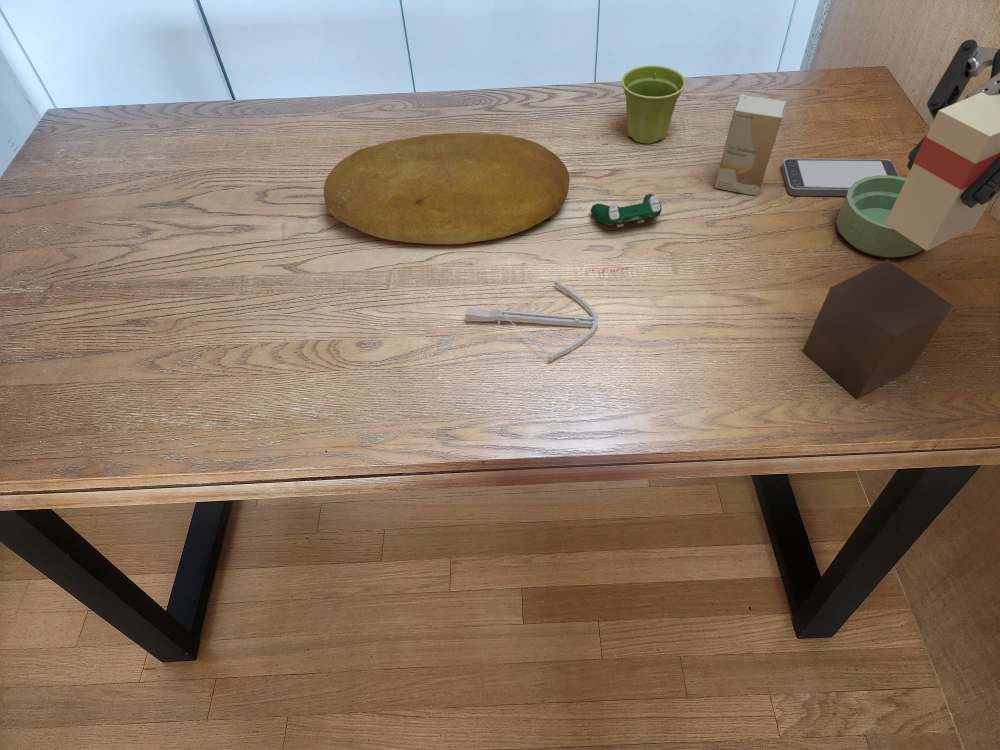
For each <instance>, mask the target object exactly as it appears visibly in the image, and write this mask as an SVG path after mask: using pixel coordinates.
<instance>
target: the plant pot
mask: <svg viewBox="0 0 1000 750" xmlns="http://www.w3.org/2000/svg"><path fill="white" fill-rule="evenodd" d="M686 84H687V81H686V78H685V77H684V75H683V74H682V73H681V72H679V71H678V70H676V69H674V68H671V67H668V66H664V65H663V66H662V65H655V64H654V65H650V64H649V65H642V66H637V67H635V68H632V69H630V70H628V71H627V72H625V73H624V74H623V76H622V77H621V86H622V88H623V92H624V95H625V106H626V108H625V109H626V131H627V136H628V137H630V138H631V139H632V140H633V141H634V142H636V143H639V144H646V145H647V144H649V145H650V144H655V143H656V142H658V141H660V140H661V141H663V140H664V139H665V138H666V137H667V133H668V130H669V127H670V124H671V120H672V118H673V114H674V111H675V107H676V104H677V102H678V101H677V100H678V99H679V98H680V96H681V93H682V92H683V91H684V90H685V88H686V86H687V85H686Z"/></svg>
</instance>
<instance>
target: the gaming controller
mask: <svg viewBox="0 0 1000 750" xmlns="http://www.w3.org/2000/svg"><path fill="white" fill-rule="evenodd" d="M662 209H663V208H662V203H661V201H660V200H659V198H658V197H657V195H654V194H652V193H648V194H646V195H644V197H643V200H642V202H641V203H637V204H636V203H635V204H630V205H626V206H619V205H618V204H617V203H616V202H611V204H610V205H607V204H604V203H595V204H593V205H592V206H591V208H590V213H591V215H592V216H593V217H594V219H596V220H597V221H598V222H600V223H602V224H604V225H606V226H612V225H614V226H615V225H616V228H621V227H624V226H625V223H627V222H631V221H635V222H636V223H637V224H643V223H645V221H646V219H649V218H654V217H658V216H660V215H661V212H662Z"/></svg>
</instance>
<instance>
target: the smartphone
mask: <svg viewBox="0 0 1000 750" xmlns="http://www.w3.org/2000/svg"><path fill="white" fill-rule="evenodd" d="M780 168H781V172H782V177H783V180H784V185H785V189H786V192H787V194H789V195H790V196H794V197H795V196H798V197H799V196H800V197H803V196H804V197H806V196H807V197H845V196H846V194H847V191H848V189H849V188H850V187H851V186H852V185H853V184H854V183H855V182H856V181H858V180H861V179H863V178H866V177H871V176H877V175H888V176H897V177H900V175H899V172H898V170H897V168H896V166H895V164H894V162H893V160H891V159H888V158H785V159H783V161H782V164H781V167H780Z"/></svg>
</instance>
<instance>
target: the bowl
mask: <svg viewBox="0 0 1000 750" xmlns="http://www.w3.org/2000/svg"><path fill="white" fill-rule="evenodd" d="M906 179H907V177H902V176H899V177H897V176H888V175H877V176H871V177H866V178H863V179H861V180H858V181H856V182H855V183H854V184H853V185H852V186H851V187H850V188H849V189H848V191H847V194H846V196H844V199H843V201H842V204H841V206H840V209H839V211H838V214H837V217H836V221H835V224H836V227H837V231H838V233H839V234H840V235H841V236H842V237H843V238H844V240H845V241H846V242H847V243H848V244H849V245H851V246H852V248H853V247H854V248H855V249H856V250H858V251H860V252H863V253H865V254H868V255H871V256H874V257H879V258H889V259H890V258H902V257H908V256H913V255H916V254H918V253H920V252H921V251H923V250H924V249H923V248H922V247H920V246H919V245H917V244H916V243H914V242H912V241H911V240H909V239H908V238H906V237H905V236H903V235H902V234H900V233H899V232H897V231H896V230H894V229H893V228H891V227H890V226H888V225H887V224H885V223H886V221H887V219H888V217H889V215H890V212H891V210H892V208H893V206H894V204H895V202H896V200H897V198H898V195H899V193H900V191H901V189H902V187H903V185H904V183H905V181H906Z"/></svg>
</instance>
